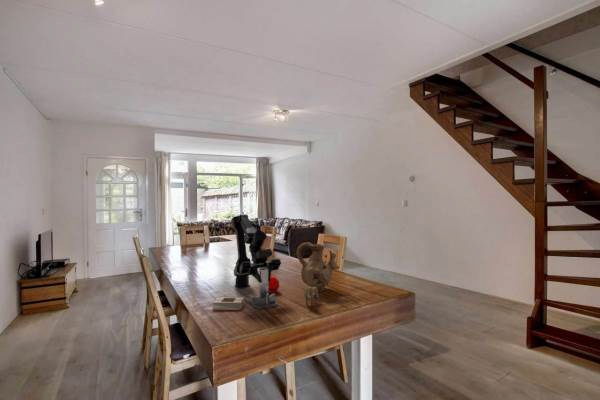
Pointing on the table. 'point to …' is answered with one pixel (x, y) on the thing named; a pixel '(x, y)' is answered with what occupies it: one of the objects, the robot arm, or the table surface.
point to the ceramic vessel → (316, 266)
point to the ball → (273, 285)
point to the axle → (264, 282)
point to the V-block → (263, 301)
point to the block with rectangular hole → (228, 303)
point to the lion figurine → (310, 294)
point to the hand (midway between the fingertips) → (265, 281)
